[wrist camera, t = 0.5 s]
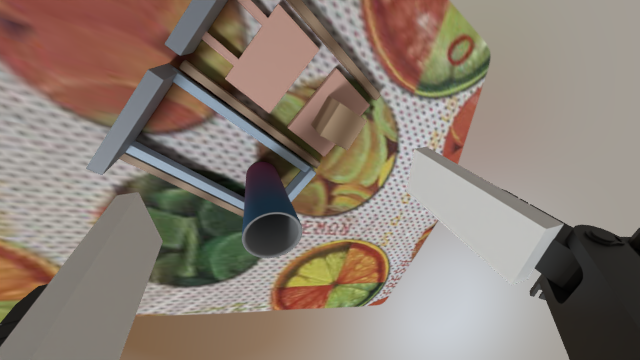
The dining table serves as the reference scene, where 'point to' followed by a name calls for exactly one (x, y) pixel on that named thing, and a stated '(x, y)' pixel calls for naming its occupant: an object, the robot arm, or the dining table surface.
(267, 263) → the dining table surface
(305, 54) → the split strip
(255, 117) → the lane guides
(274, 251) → the cup
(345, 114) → the walnut cube
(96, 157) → the frame
